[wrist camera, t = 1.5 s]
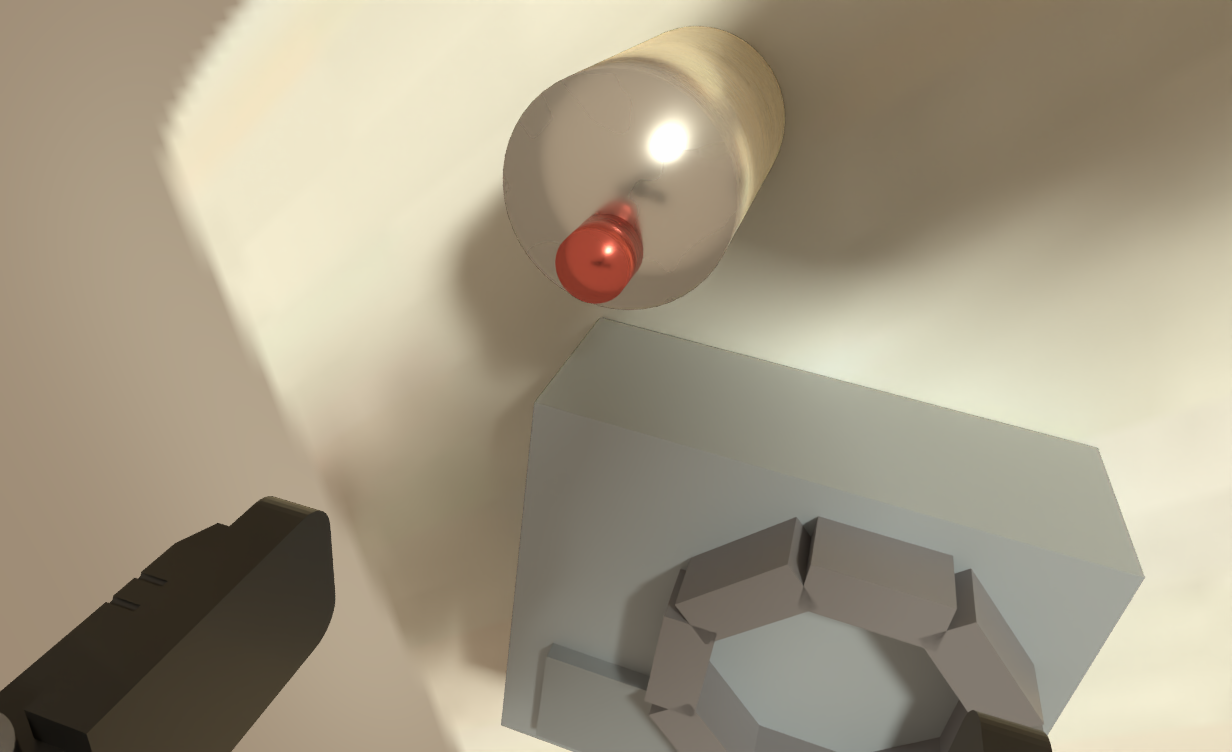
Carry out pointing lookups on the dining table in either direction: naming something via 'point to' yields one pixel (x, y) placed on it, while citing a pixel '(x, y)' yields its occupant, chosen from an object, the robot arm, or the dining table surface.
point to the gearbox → (795, 560)
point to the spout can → (644, 166)
